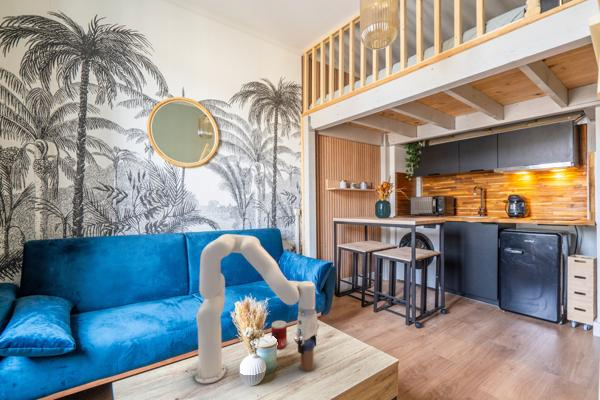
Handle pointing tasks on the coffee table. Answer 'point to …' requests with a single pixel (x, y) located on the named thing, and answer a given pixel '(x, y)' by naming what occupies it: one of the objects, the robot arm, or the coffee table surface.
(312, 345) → the lid
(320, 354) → the coffee table surface
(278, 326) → the canned food
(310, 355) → the jar
